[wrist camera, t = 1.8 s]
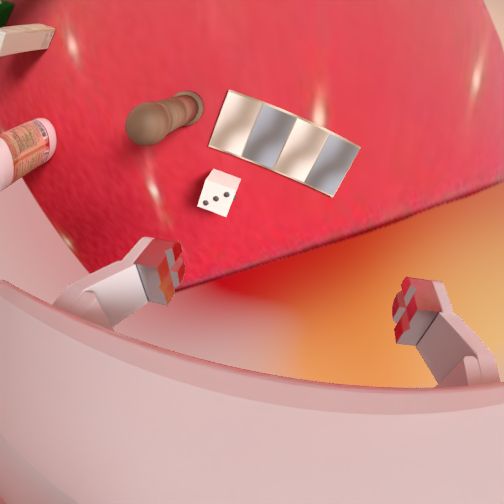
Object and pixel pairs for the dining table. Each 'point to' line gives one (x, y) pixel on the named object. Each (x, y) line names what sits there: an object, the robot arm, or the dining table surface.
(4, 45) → the skincare box
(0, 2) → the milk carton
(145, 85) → the dining table surface
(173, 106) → the pawn
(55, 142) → the fruit juice
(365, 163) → the dining table surface
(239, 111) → the board
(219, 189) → the die
